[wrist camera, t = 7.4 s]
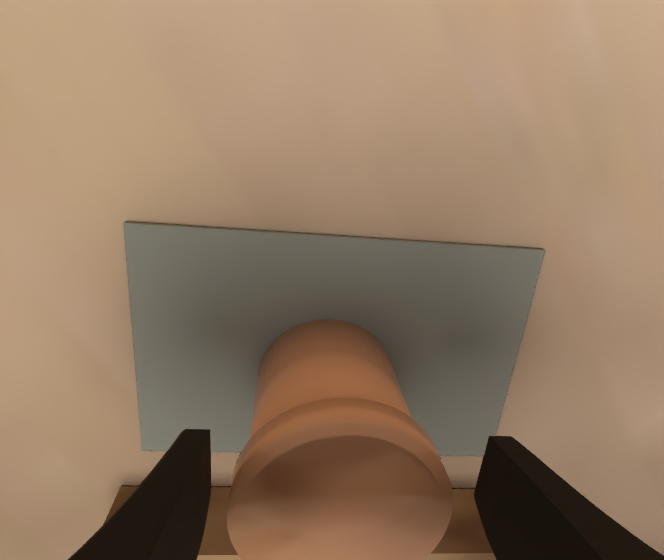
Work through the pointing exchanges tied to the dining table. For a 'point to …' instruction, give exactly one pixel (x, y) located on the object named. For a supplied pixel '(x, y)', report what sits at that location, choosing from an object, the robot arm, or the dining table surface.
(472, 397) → the rubber mat
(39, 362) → the dining table surface
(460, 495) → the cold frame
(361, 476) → the terracotta pot
